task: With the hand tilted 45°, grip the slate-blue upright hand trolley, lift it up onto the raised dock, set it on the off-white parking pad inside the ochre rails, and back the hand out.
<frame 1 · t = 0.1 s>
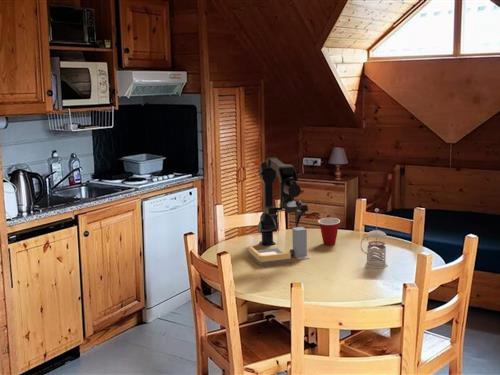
hand: (286, 227, 264), 15 cm above the table, tool pointing down, fingers open, 9 cm apart
dock: (269, 259, 268), on the table
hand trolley: (299, 256, 271), on the table
french press: (374, 265, 255), on the table
plastic cup: (329, 244, 290), on the table
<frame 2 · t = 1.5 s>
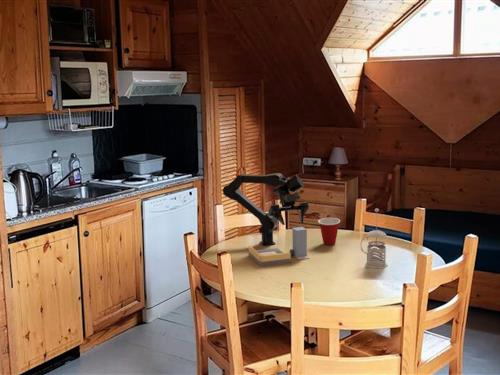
hand: (293, 223, 276), 14 cm above the table, tool tilted 45°, fingers open, 9 cm apart
nothing on the table moved.
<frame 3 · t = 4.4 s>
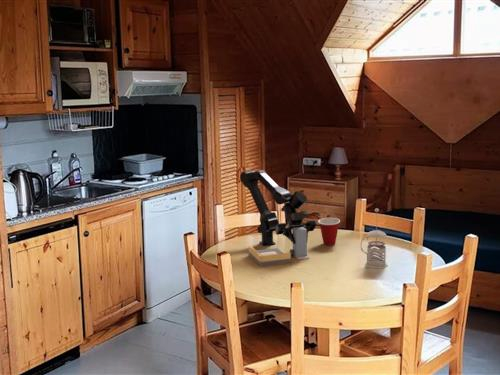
hand: (300, 243, 268), 7 cm above the table, tool tilted 45°, fingers closed on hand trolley, 5 cm apart
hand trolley: (299, 256, 271), on the table, touching gripper
everything else where it was.
when the fingers open (9 cm above the table, at t = 8.5 s): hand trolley stays where it is, resting on dock.
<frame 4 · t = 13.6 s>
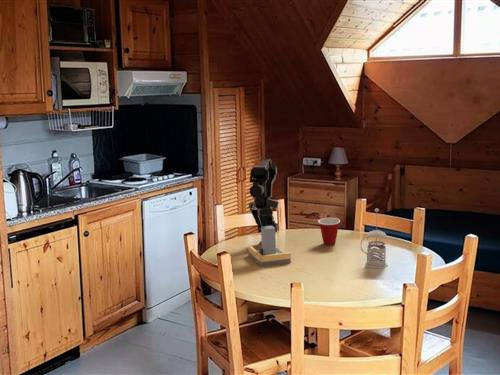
hand: (260, 226, 275), 13 cm above the table, tool pointing down, fingers open, 9 cm apart
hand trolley: (268, 255, 266), point 2 cm above the table, touching dock
everything else where it was.
at the end: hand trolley inside the target area on the dock (0.3 cm from its centre), point 2.1 cm above the dock's base; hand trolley tilted 0°; the gripper is holding nothing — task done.
